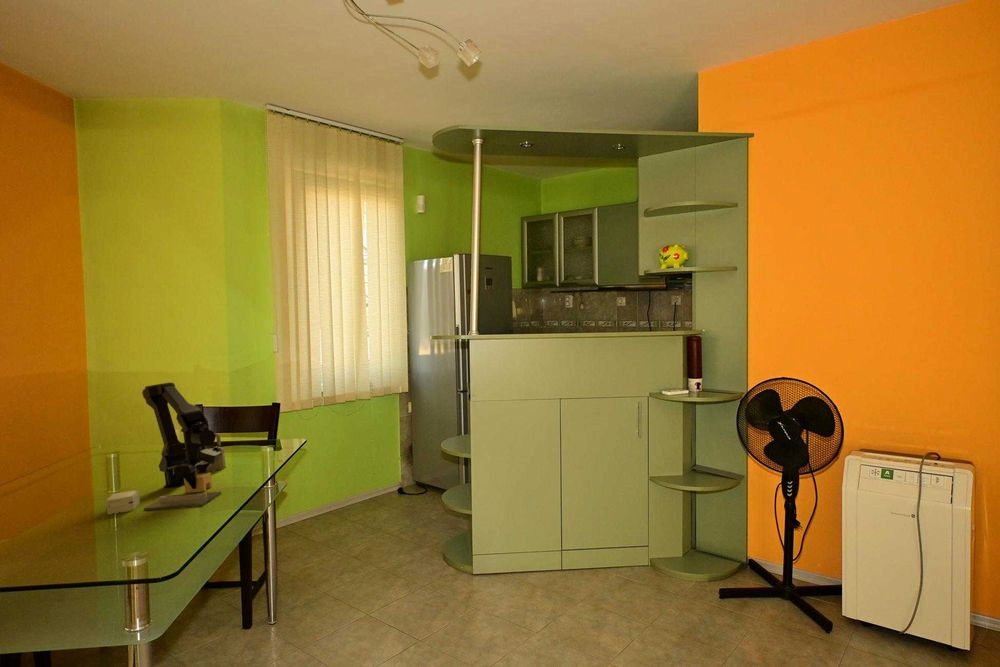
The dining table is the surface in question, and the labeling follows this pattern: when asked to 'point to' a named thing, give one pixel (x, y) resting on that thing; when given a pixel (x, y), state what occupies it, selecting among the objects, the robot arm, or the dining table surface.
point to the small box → (123, 501)
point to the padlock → (221, 462)
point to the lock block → (200, 483)
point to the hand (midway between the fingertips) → (198, 486)
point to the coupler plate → (182, 500)
